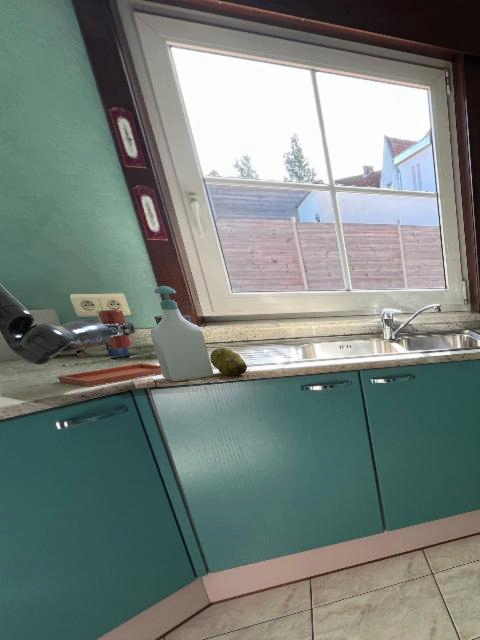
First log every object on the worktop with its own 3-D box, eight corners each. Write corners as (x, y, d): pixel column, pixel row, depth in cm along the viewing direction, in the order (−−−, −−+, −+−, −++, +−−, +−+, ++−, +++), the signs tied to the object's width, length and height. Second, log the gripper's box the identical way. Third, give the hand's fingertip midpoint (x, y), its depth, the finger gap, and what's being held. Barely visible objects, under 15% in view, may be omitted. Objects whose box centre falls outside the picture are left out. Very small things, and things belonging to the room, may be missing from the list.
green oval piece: (218, 379, 154) (212, 353, 151) (212, 371, 162) (206, 347, 159) (250, 375, 159) (244, 351, 156) (242, 368, 168) (236, 345, 165)
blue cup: (116, 359, 174) (105, 328, 170) (106, 358, 176) (95, 327, 172) (134, 357, 179) (124, 326, 175) (123, 355, 180) (113, 325, 176)
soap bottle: (202, 371, 162) (178, 284, 152) (213, 375, 158) (190, 286, 148) (161, 377, 153) (133, 285, 143) (172, 381, 149) (144, 287, 139)
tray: (90, 386, 141) (88, 381, 140) (60, 381, 145) (57, 376, 144) (171, 372, 160) (170, 366, 160) (143, 368, 164) (141, 363, 163)
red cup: (111, 349, 148) (99, 312, 144) (106, 347, 151) (94, 310, 147) (135, 347, 152) (123, 311, 149) (129, 345, 155) (118, 309, 151)
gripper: (111, 320, 138) (143, 314, 153) (46, 320, 134) (86, 314, 149) (119, 347, 140) (151, 338, 155) (56, 348, 136) (95, 339, 151)
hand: (119, 326), depth 152 cm, fingers closed on red cup, 5 cm apart
